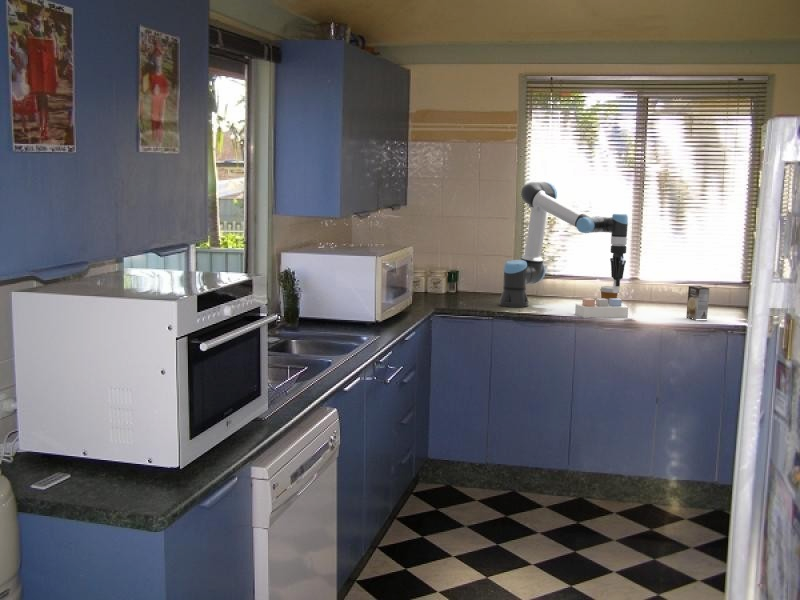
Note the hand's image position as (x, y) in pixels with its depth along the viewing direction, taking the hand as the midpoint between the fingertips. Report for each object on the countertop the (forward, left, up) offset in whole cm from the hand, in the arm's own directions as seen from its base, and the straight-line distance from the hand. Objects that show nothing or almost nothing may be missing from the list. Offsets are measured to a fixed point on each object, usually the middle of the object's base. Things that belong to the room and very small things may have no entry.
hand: (616, 292), depth 453 cm
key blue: (0, 0, -9) cm, 9 cm away
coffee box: (+12, +38, -12) cm, 41 cm away
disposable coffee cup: (-16, +4, -12) cm, 20 cm away
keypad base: (0, -7, -12) cm, 14 cm away
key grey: (0, -7, -9) cm, 12 cm away
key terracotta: (0, -14, -9) cm, 17 cm away
